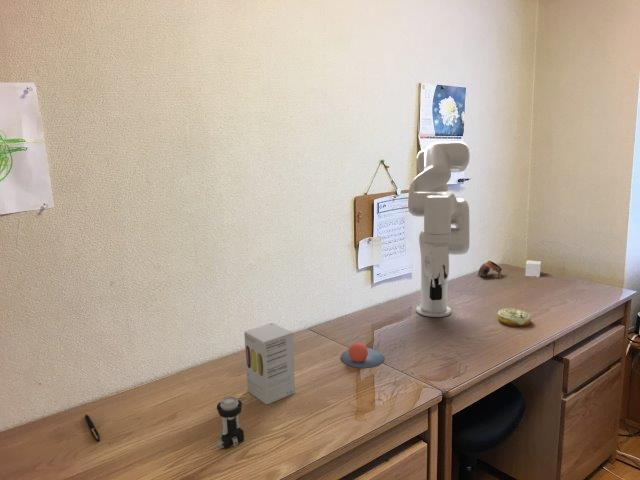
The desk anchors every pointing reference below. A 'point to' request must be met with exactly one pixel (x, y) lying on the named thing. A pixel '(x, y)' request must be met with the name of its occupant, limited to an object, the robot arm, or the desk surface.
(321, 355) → the desk surface
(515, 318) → the decorated donut
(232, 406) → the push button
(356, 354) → the ball
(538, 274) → the white cube
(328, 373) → the desk surface
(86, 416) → the fountain pen
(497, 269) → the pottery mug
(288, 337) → the supplement box
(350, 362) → the disc
